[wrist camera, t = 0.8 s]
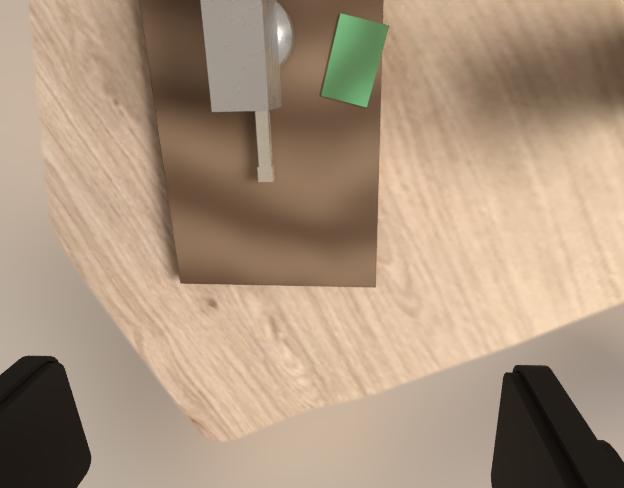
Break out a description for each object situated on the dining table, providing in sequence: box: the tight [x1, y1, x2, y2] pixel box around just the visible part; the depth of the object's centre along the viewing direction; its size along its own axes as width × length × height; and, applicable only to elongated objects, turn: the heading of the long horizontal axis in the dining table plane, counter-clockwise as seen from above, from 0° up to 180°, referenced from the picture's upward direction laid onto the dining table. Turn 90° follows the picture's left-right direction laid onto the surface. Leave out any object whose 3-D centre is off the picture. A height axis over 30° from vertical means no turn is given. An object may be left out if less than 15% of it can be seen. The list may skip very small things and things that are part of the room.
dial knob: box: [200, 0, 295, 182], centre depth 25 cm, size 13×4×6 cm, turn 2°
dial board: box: [139, 0, 389, 287], centre depth 29 cm, size 26×15×2 cm, turn 2°
